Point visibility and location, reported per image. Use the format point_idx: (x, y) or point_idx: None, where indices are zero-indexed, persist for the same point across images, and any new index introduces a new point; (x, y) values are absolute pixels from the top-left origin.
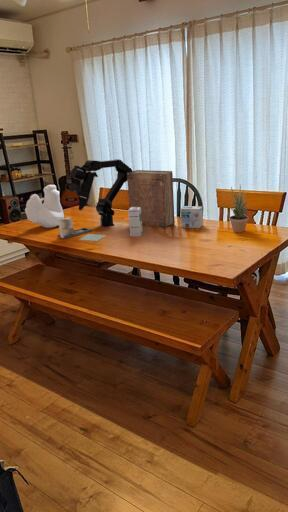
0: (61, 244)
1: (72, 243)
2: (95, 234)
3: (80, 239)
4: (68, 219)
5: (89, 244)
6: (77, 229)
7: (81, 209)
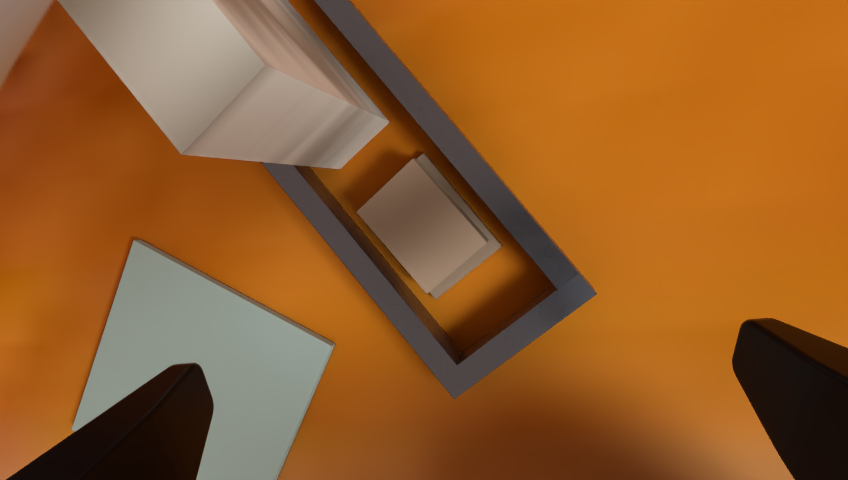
0: (45, 71)
1: (61, 186)
2: (297, 423)
3: (141, 262)
4: (129, 78)
5: (12, 355)
6: (508, 191)
7: (753, 385)
